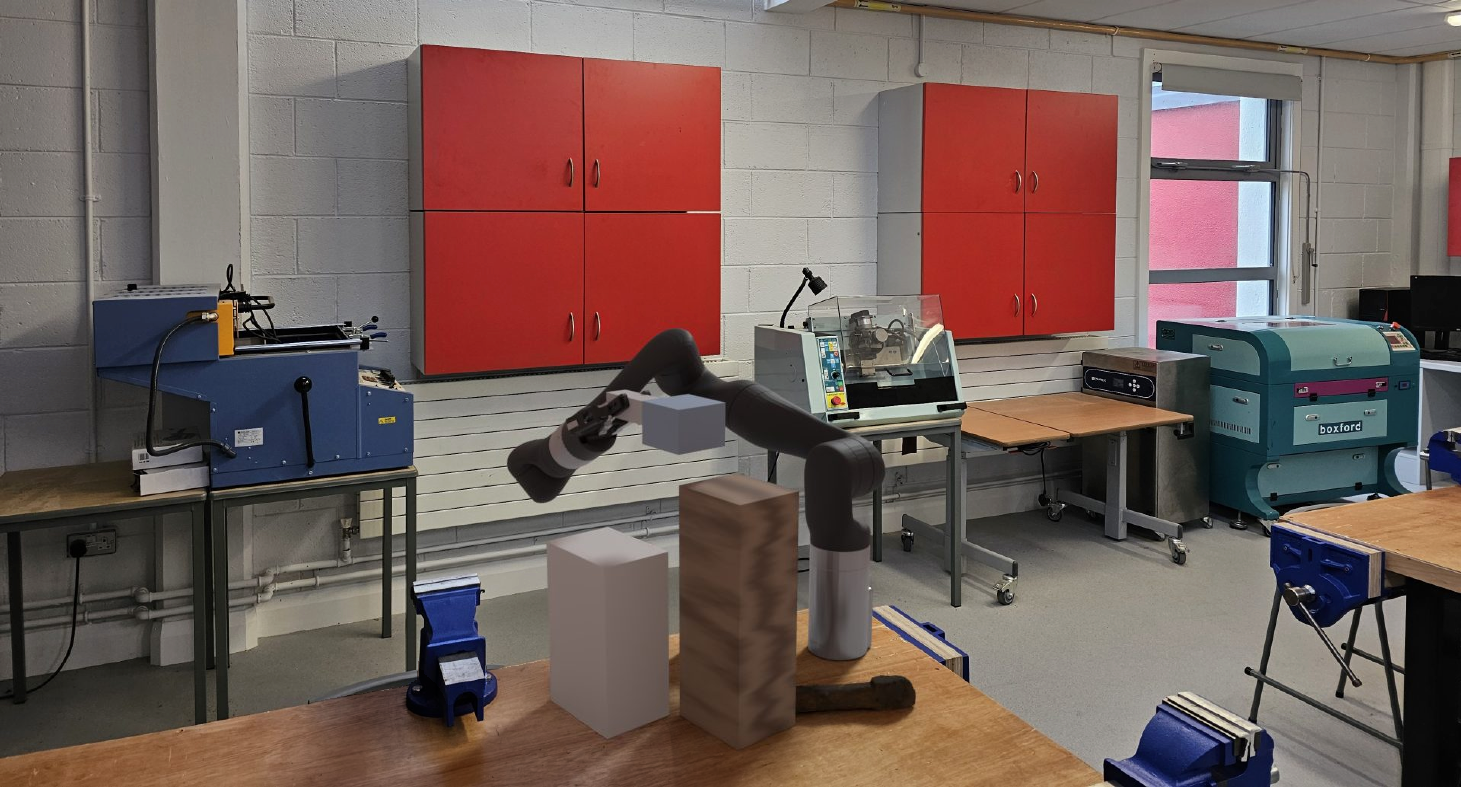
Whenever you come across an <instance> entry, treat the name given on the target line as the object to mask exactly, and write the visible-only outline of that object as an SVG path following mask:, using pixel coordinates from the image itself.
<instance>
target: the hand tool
mask: <svg viewBox="0 0 1461 787" xmlns="http://www.w3.org/2000/svg"><path fill="white" fill-rule="evenodd" d="M916 694H917V692H916V689H915V688H914V686H913V683H912V682H911V680H910V679H909V678H907V677H906V676H903V675H881V674H880V675H877V676H876V675H874V676H872V677H871V679H870V680H869V681H865V682H854V683H853V682H851V683H837V684H836V683H834V684H833V683H831V684H820V685H819V684H809V685H808V684H807V685H796V702H795V716H796V715H797V714H799V713H803V712H817V711H835V710H837V711H838V710H850V709H853V710H854V709H872V710H873V711H875V712H878V713H880V712H881V713H882V712H890V711H896V710H901V709H906V708H909V707H912V706H915V705H916V701H917V700H916V699H917V695H916Z"/></svg>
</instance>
